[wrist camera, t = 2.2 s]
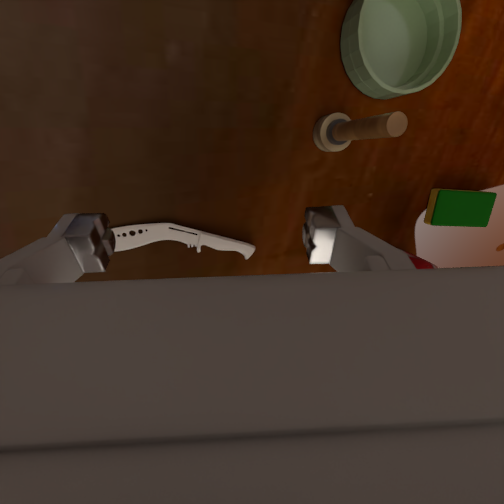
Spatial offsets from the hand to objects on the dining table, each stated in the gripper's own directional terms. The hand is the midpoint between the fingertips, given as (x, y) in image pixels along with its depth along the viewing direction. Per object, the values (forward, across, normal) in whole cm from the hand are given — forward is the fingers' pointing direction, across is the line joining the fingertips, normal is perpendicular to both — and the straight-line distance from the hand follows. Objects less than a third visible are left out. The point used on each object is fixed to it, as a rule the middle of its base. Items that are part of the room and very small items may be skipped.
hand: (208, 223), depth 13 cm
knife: (+32, +11, +27) cm, 43 cm away
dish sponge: (+42, -46, +27) cm, 68 cm away
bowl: (+50, -27, -1) cm, 56 cm away
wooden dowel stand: (+43, -17, +12) cm, 48 cm away
